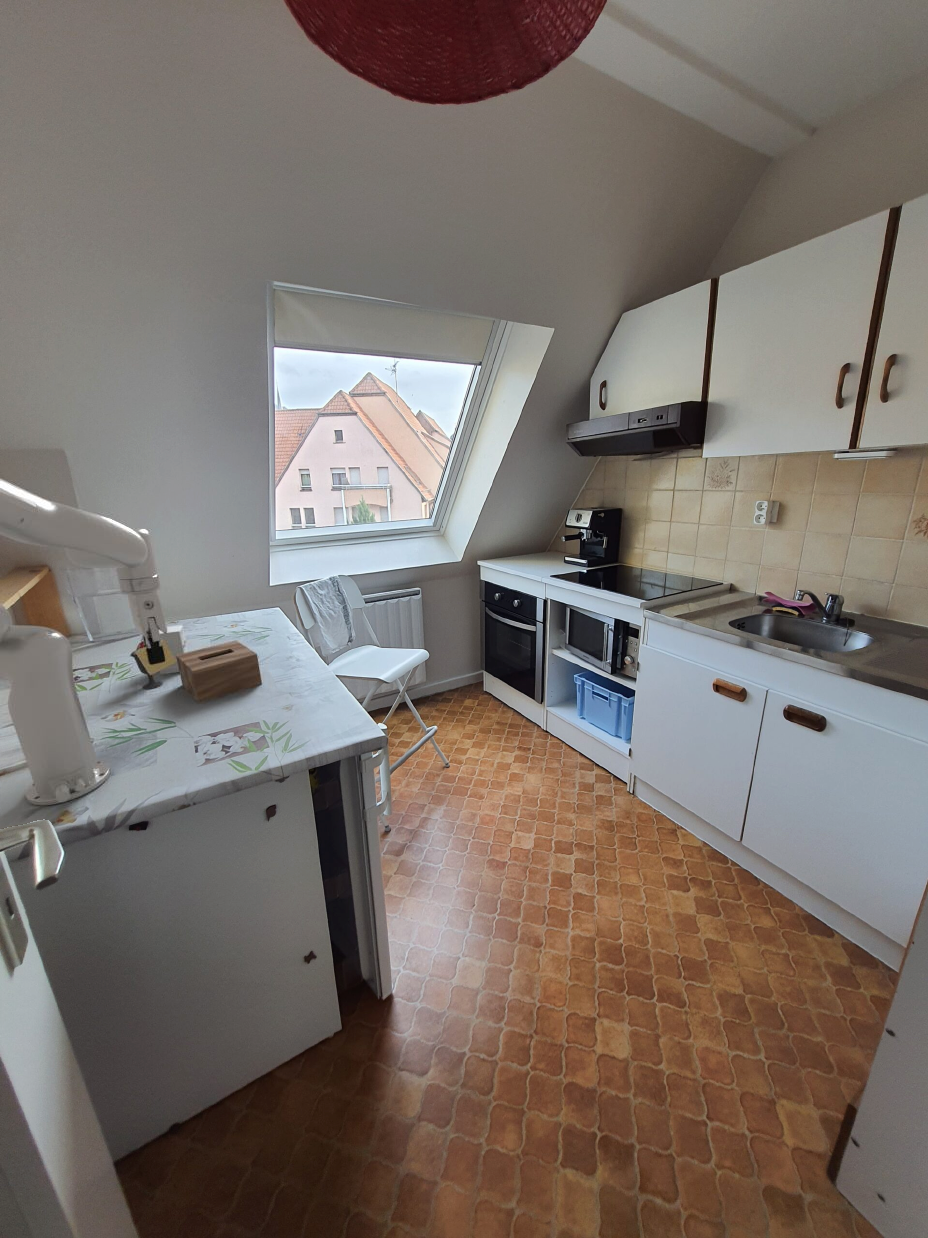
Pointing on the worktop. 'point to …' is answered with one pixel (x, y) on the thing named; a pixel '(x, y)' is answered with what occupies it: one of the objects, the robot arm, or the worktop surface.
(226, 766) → the worktop surface
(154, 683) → the sundae
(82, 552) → the robot arm
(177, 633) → the supplement box
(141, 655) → the tan rectangular block
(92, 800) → the worktop surface
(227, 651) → the brown slotted wooden box
